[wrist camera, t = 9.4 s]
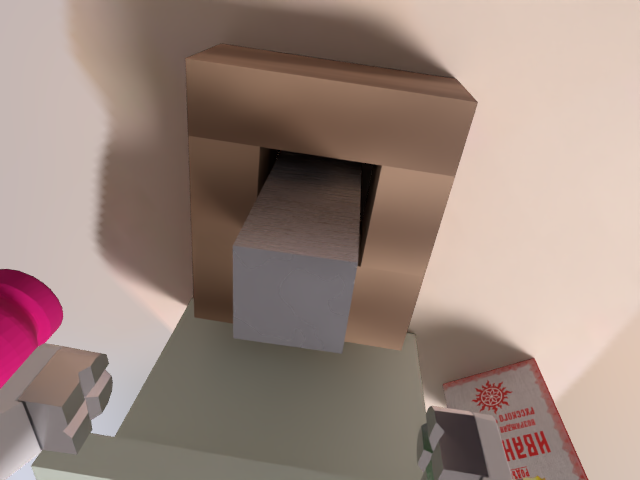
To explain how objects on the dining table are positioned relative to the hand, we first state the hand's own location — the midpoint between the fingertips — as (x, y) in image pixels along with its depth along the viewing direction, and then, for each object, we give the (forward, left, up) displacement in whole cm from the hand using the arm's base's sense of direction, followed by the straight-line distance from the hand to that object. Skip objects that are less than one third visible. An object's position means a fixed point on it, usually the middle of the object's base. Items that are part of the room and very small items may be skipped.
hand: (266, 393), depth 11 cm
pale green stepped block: (+9, 0, -16) cm, 19 cm away
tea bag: (+15, +15, -16) cm, 27 cm away
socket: (+1, 0, -16) cm, 16 cm away
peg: (0, 0, -16) cm, 16 cm away
